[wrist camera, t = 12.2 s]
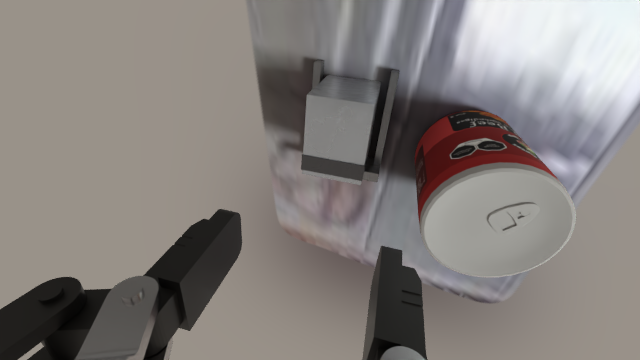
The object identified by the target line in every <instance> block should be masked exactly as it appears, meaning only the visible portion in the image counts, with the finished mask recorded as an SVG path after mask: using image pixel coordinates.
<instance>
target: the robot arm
mask: <svg viewBox="0 0 640 360" xmlns="http://www.w3.org/2000/svg"><path fill="white" fill-rule="evenodd" d="M241 246H242V236H241V218H240V214H239V213H236V212H232V211H228V210H223V209H219V210H218V211H217V212H216V213H215V214H214V215H213V216H212V217H211V218H210V219H209V220H207V219H203V220H201V221H199V222H197V223H195V224H194V225H192V226H191V227H190V228H189V229H188V230H187V231H186V232H185V233H184V234H183V235H182V237H180V238H179V239H178V240H177V241H176V242H175V244H174V245H172V246H171V247H170V249H169V250H168V251H167V252H166V253H165V254H164V255H163V256H162V257H161V258H160V259H159V260H158V261H157V262H156V263H155V264H154V265H153V266H152V268H150V269H149V270H148V271H147V273H146V274H145V275H143V276H135V277H132V278H128V279H126V280H124V281H122V282H120V283H118V284H117V285H116V286H114V288H112V289H99V290H98V289H97V290H83V288H82V286H81V283H80V282H79V281H78V280H77V279H75V278H72V277H61V278H56V279H52V280H49V281H47V282H45V283H42V284H40V285H39V286H37V287H35V288H34V289H32V290H31V291H29V292H28V293H26V294H24V295H23V296H21V297H19V298H18V299H16V300H15V301H13V302H12V303H10V304H8V305H7V306H5V307H3V308H2V309H0V360H18V359H19V358H20V357H21V356H23V355H24V354H26V353H27V352H28V351H30V350H31V349H32V348H34V347H35V346H36V345H37V344H39V343H40V342H41V343H42V344H43V346H44V347H43V348H42V349H41V350H39V351H38V352H37V353H35V354H34V355H33V356H32V357H30V358H29V359H27V360H169V356H170V352H171V348H172V344H173V338H172V336H173V335H174V334H175V332H176V330H177V329H178V328H182V329H185V330H188V331H190V330H191V328H192V327H193V325H194V324H195V322H196V321H197V319H198V318H199V316H200V315H201V313H202V311H203V310H204V308H205V307H206V305H207V304H208V302H209V301H210V299H211V298H212V296H213V295H214V293H215V292H216V290H217V289H218V287H219V286H220V284H221V282H222V281H223V279H224V278H225V276H226V275H227V273H228V272H229V270H230V268H231V267H232V266H233V264H234V263H235V261H236V259H237V258H238V256H239V254H240V251H241ZM422 307H423V301H422V284H421V280H420V278H419V276H418V274H417V272H416V270H415V269H414V268H410V267H406V266H402V250H398V249H393V248H389V247H385V246H381V248H380V252H379V256H378V259H377V263H376V267H375V271H374V275H373V280H372V285H371V292H370V300H369V309H368V317H367V326H366V334H365V343H364V352H363V360H427V357H426V350H425V333H424V319H423V318H424V317H423V309H422Z"/></svg>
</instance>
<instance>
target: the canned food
mask: <svg viewBox="0 0 640 360" xmlns="http://www.w3.org/2000/svg"><path fill="white" fill-rule="evenodd" d="M415 171H416V186H417V202H418V215H419V224H420V233H421V235H422V240H423V242H424V245H425V247H426V249H427V250H428V252H429V253H430V254H431V256H432V257H433V258H434V259H436V260H437V261H438V262H439V263H440V264H442V265H444V266H445V267H447V268H448V269H451V270H453V271H456V272H458V273H461V274H465V275H470V276H476V277H503V276H510V275H515V274H518V273H522V272H525V271H528V270H530V269H533V268H535V267H537V266H540V265H541V264H543V263H544V262H546V261H548V260H549V259H551V258H552V257H553V256H554V255H556V254H557V253H558V252H559V251H560V250H561V249H562V248H563V247H564V245H565V244H566V243H567V242H568V240H569V239H570V236H571V234H572V232H573V230H574V227H575V220H576V213H575V206H574V204H573V201H572V199H571V197H570V195H569V194H568V192H567V190H566V188H565V187H564V186H563V185H562V184H561V183H560V182H559V180H558V179H557V177H556V176H555V175H554V174H553V173H552V172H551V171H550V170H549V169H548V168H547V166H546V165H545V164H544V163H543V162H542V161H541V160H540V159H539V158H538V157H537V155H536V154H535V153H534V152H533V151H532V150H531V149H530V148H529V147H528V146H527V144H526V143H525V142H524V141H523V140H522V139H521V138H520V137H519V136H518V135H517V134H516V132H515V131H514V130H513V129H512V128H511V127H510V126H509V125H508V124H507V123H506V121H504V120H503V119H501V118H500V117H498V116H496V115H494V114H491V113H489V112H483V111H461V112H456V113H453V114H450V115H448V116H445V117H444V118H442V119H440V120H438V121H437V122H436V123H434V124H433V125H432V126H431V127H430V128H429V129H428V130H427V131H426V132H425V133H424V135H423V136H422V138H421V139H420V141H419V143H418V146H417V148H416V152H415Z"/></svg>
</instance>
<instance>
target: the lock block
mask: <svg viewBox="0 0 640 360" xmlns="http://www.w3.org/2000/svg"><path fill="white" fill-rule="evenodd" d="M380 87H381V82H378V81H371V80H363V79H356V78H349V77H341V76H334V75H328V76H327V77H326V78H324V79H323V80H322V81H321V82H320V83H319V84H318V85H317V86H316V87H315V88H314V89H312V90H311V91H310V92H309V93H308V94H307V99H306V116H305V132H304V148H303V155H302V165H301V170H302V174H306V175H311V176H316V177H321V178H327V179H332V180H337V181H342V182H348V183H353V184H358V185H361V182H362V179H363V175H364V170H365V165H366V161H367V156H368V152H369V148H370V142H371V137H372V131H373V126H374V120H375V115H376V109H377V104H378V98H379V93H380Z"/></svg>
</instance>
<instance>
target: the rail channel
mask: <svg viewBox="0 0 640 360" xmlns="http://www.w3.org/2000/svg"><path fill="white" fill-rule="evenodd" d="M323 70H324V61H323V60H316V61H314V66H313V81H312V89H314V88H315V87H316V86H317V85H318V84H319V83H320V82H321V81H322V80H323ZM398 77H399V70H393V69H392V71H391V76H390V82H389V87H388V92H387V97H386V102H385V107H384V113H383V118H382V123H381V128H380V133H379V138H378V143H377V149H376V154H375V158H371V157H367V161H366V165H365V170H364V175H363V180H368V181H374V182H377V181H378V176H379V170H380V164H381V159H382V154H383V149H384V144H385V140H386V135H387V130H388V125H389V120H390V115H391V111H392V106H393V101H394V96H395V91H396V86H397V82H398Z"/></svg>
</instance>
